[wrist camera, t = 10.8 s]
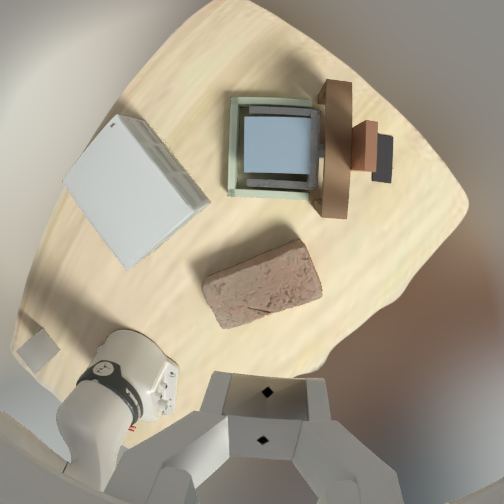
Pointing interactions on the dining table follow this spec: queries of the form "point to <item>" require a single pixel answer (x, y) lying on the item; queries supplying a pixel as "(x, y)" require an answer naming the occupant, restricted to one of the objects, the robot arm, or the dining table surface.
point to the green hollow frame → (234, 140)
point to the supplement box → (133, 189)
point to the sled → (322, 147)
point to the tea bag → (38, 351)
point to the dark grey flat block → (384, 159)
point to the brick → (263, 285)
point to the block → (277, 145)
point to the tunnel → (336, 149)
